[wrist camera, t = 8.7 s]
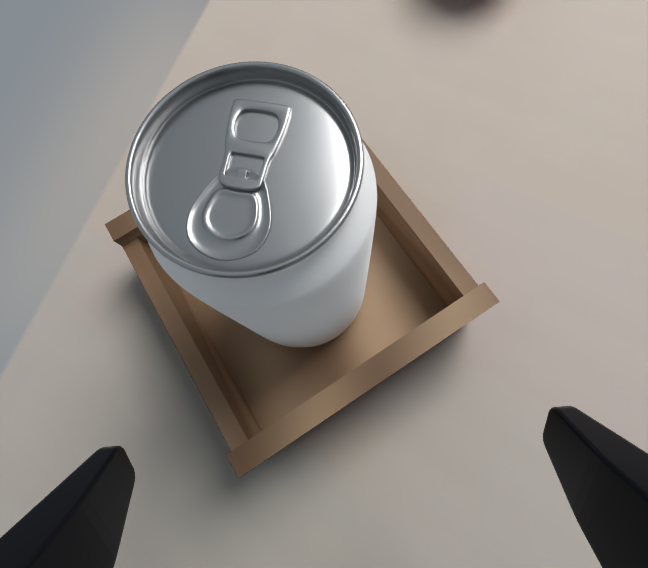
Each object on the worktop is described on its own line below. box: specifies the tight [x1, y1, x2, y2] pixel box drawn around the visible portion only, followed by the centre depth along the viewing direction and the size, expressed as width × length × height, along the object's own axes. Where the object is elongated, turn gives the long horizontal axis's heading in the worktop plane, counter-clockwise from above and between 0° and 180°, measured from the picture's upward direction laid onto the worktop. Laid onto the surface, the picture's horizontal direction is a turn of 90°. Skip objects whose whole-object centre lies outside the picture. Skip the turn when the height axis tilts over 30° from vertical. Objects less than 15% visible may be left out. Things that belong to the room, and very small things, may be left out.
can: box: [125, 62, 377, 347], centre depth 15 cm, size 6×6×12 cm
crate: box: [105, 139, 500, 478], centre depth 19 cm, size 13×13×4 cm
